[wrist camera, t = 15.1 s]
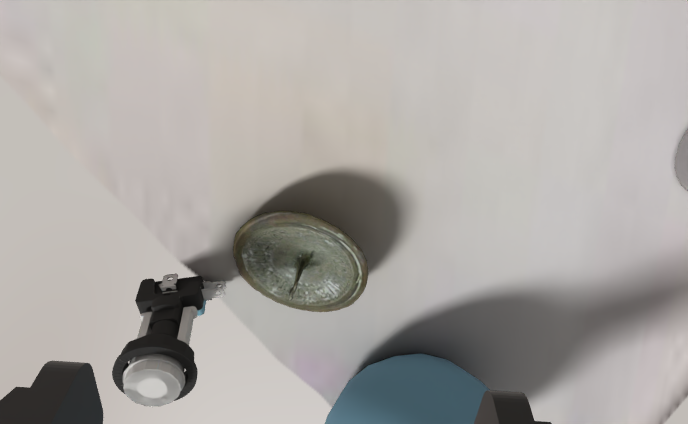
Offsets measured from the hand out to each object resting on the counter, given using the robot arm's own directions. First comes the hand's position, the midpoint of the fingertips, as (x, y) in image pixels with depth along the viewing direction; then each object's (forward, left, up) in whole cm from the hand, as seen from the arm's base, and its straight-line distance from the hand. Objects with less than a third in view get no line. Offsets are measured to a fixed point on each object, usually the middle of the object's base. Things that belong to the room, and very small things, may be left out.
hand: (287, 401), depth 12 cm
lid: (-1, +16, -28) cm, 32 cm away
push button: (+8, +20, -28) cm, 35 cm away
